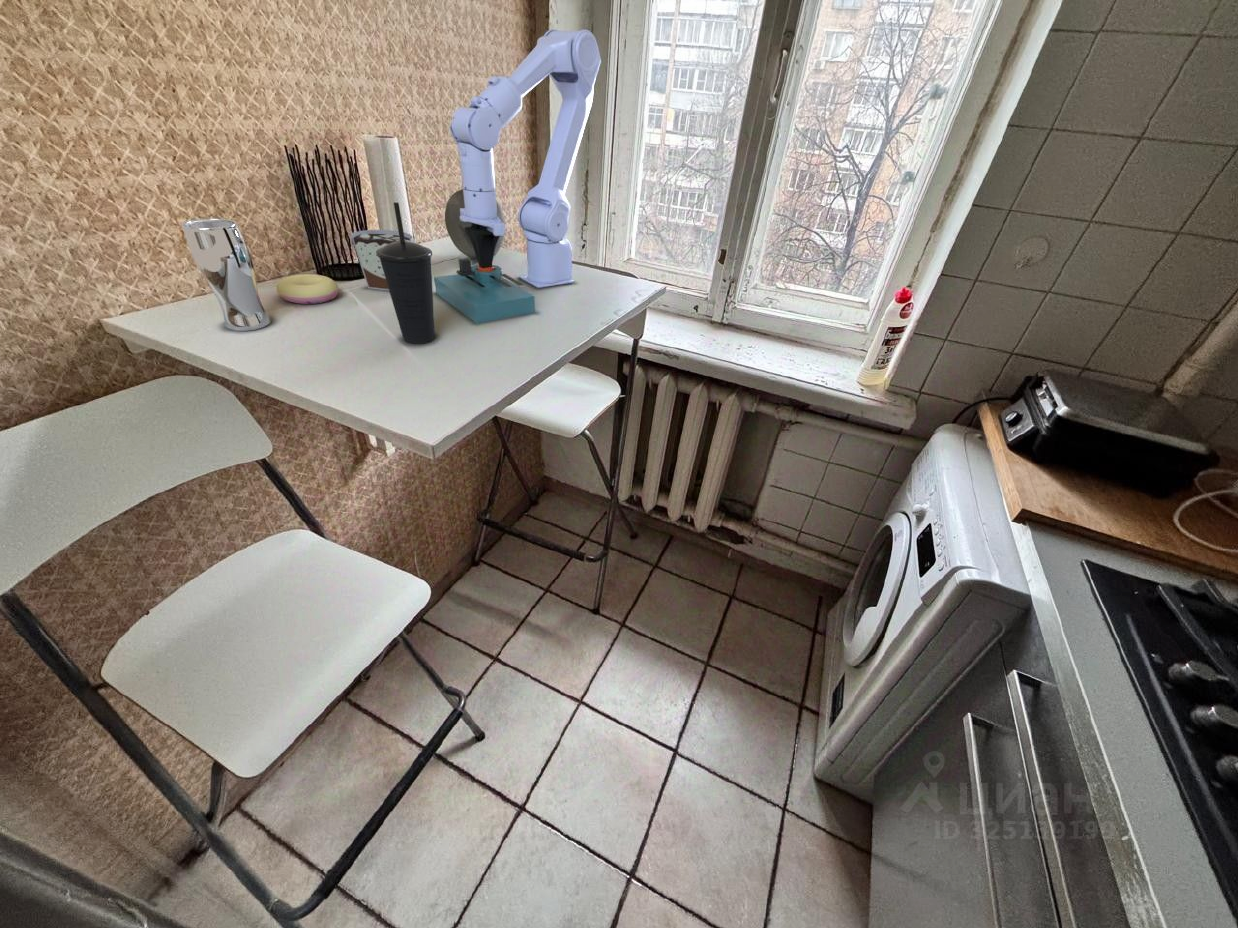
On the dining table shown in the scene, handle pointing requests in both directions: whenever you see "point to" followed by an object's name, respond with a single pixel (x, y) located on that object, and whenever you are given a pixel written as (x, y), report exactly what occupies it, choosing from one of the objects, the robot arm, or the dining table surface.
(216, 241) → the chrome curved vase
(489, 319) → the teal control box
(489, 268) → the button
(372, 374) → the dining table surface
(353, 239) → the food container
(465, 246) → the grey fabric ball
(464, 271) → the slider
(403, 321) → the drinking cup
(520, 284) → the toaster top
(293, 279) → the donut
